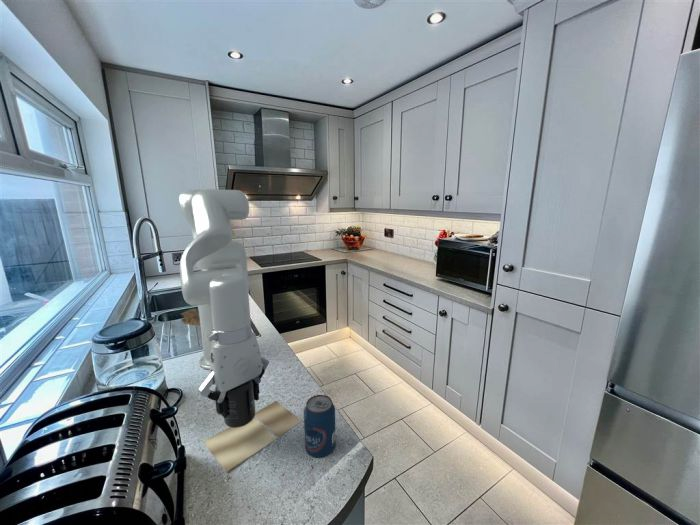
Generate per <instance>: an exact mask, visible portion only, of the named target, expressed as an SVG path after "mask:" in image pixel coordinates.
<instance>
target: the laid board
mask: <svg viewBox="0 0 700 525" xmlns="http://www.w3.org/2000/svg"><path fill="white" fill-rule="evenodd" d="M255 418H256V419H257V420H258V421H259V422H260V423H261V424H262V425H263V426H265V427H266V428H267V429H268V430H269V431H270V432H271V433H272V434H274V435H275V436H276V437H277V438H280V437H282V436H283V435H284V434H286V433H288V432H289V431H290V430H291V429H293V428H294V427H296V426H297V425H299V424H300V423H301V422H303V420H302V419H301V418H299V417H298V416H296V415H295V414H294V413H293V412H291V411H290V410H288V409H287V408H286V407H285V406H284V405H282V404H281V403H280V402H279V401H278V400H275V401H273V402H271V403H270V404H268V405H267V406H264V407H263V408H260V409H259V410H258V411H255Z"/></svg>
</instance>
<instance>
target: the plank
mask: <svg viewBox="0 0 700 525" xmlns="http://www.w3.org/2000/svg"><path fill="white" fill-rule="evenodd" d="M277 439H278V436H277V435H275V434H274V433H273V432H272V431H271V430H270V429H269V428H268V427H267V426H265V425H264V424H263V423H262V422H261V421H260V420H259V419H258V418H257V417H256V416H255V417H254V418H253V420H252V421H251V422H250V423H248V424H247V425H245V426H242V427H238V428H232V427H229V426H228V427H226V429H223V430H221V431H220V432H218V433H216V434H215V435H213V436H211V437H209V438H207V439H205V440H204V441H203V444H204V446H206V447H207V449H208V450H209V452H210V453H211V454H212V455H213V457H214V458H215V459H216V461H217V462H218V463H219V465H220V467H222V468H223V470H224V471H225V472H226V473H227V474H229V473H230V472H231V471H232V470H234V469H236V468H237V467H238V466H239V465H241V464H242V463H244V462H246V461H247V460H248V459H250V458H252V456H254V455H255V454H257V453H258V452H260V451H261V450H263V449H264V448H265V447H267V446H269V445H270V444H271V443H273V442H274V441H276V440H277Z"/></svg>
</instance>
